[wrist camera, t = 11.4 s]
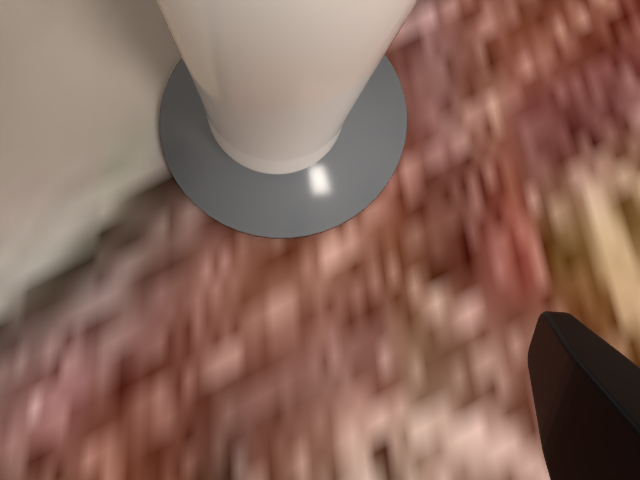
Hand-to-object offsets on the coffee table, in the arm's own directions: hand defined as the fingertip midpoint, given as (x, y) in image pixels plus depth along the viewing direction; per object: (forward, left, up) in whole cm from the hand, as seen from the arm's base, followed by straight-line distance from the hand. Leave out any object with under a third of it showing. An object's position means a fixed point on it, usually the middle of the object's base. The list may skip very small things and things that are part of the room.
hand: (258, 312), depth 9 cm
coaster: (+7, +6, -13) cm, 16 cm away
